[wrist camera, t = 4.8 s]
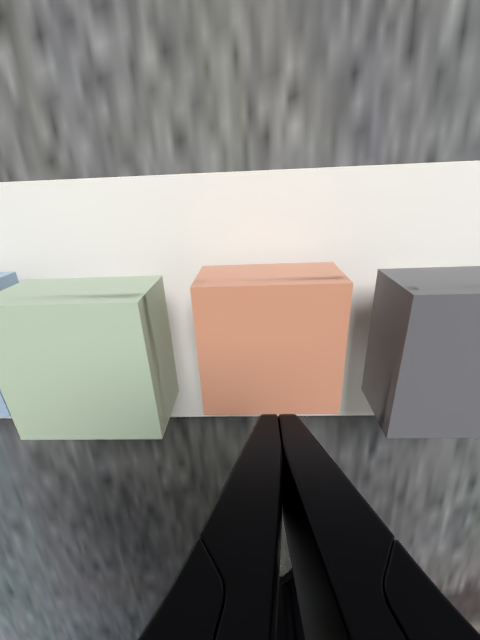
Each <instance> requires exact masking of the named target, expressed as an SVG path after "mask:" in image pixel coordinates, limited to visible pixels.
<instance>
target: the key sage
mask: <svg viewBox="0 0 480 640" xmlns="http://www.w3.org/2000/svg"><path fill="white" fill-rule="evenodd" d="M0 390H1V393H2V395H3V397H4V400H5V402H6V405H7V407H8V409H9V412H10V414H11V417H12V419H13V421H14V424H15V426H16V428H17V431H18V433H19V436H20V438H21V440H92V439H163V436H164V433H165V430H166V427H167V424H168V422H169V419H170V416H171V413H172V410H173V407H174V404H175V401H176V398H177V395H178V393H179V388H178V381H177V374H176V367H175V360H174V353H173V346H172V339H171V332H170V325H169V318H168V311H167V304H166V297H165V290H164V283H163V276H162V275H156V276H122V277H89V278H56V279H26V280H24V281H22V282H19V283H17V284H15V285H13V286H11V287H8V288H6V289H4V290H2V291H0Z"/></svg>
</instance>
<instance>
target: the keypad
mask: <svg viewBox="0 0 480 640" xmlns="http://www.w3.org/2000/svg"><path fill="white" fill-rule="evenodd" d="M309 262H334V263H335V264H336V265H337V267H338V268H339V269H340V270H341V271H342V272H343V273H344V274H345V275H346V276H347V277H348V278H349V279H350V280H351V281H352V282H353V292H352V301H351V310H350V319H349V329H348V338H347V347H346V356H345V366H344V375H343V384H342V394H341V403H340V412H339V414H295V415H297V416H350V415H374V413H373V411H372V409H371V407H370V405H369V403H368V401H367V399H366V397H365V395H364V393H363V391H362V390H361V387H362V380H363V373H364V365H365V358H366V351H367V343H368V336H369V329H370V322H371V314H372V307H373V300H374V293H375V285H376V278H377V271H378V269H393V268H426V267H460V266H480V161H460V162H438V163H416V164H394V165H372V166H350V167H328V168H306V169H285V170H263V171H241V172H219V173H197V174H175V175H153V176H131V177H109V178H87V179H65V180H43V181H21V182H0V272H16V275H17V278H18V281H19V282H22V281H24V280H26V279H56V278H89V277H122V276H156V275H162V276H163V283H164V290H165V297H166V304H167V311H168V318H169V325H170V332H171V339H172V346H173V353H174V360H175V367H176V374H177V381H178V388H179V393H178V395H177V398H176V401H175V404H174V407H173V410H172V413H171V416H170V417H225V416H260V415H204V412H203V403H202V394H201V385H200V375H199V366H198V357H197V348H196V339H195V330H194V320H193V311H192V302H191V293H190V287H191V285H192V283H193V281H194V280H195V278H196V276H197V274H198V273H199V271H200V269H201V267H202V266H213V265H245V264H277V263H309ZM277 416H279V415H277ZM0 418H12V417H0Z"/></svg>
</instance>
